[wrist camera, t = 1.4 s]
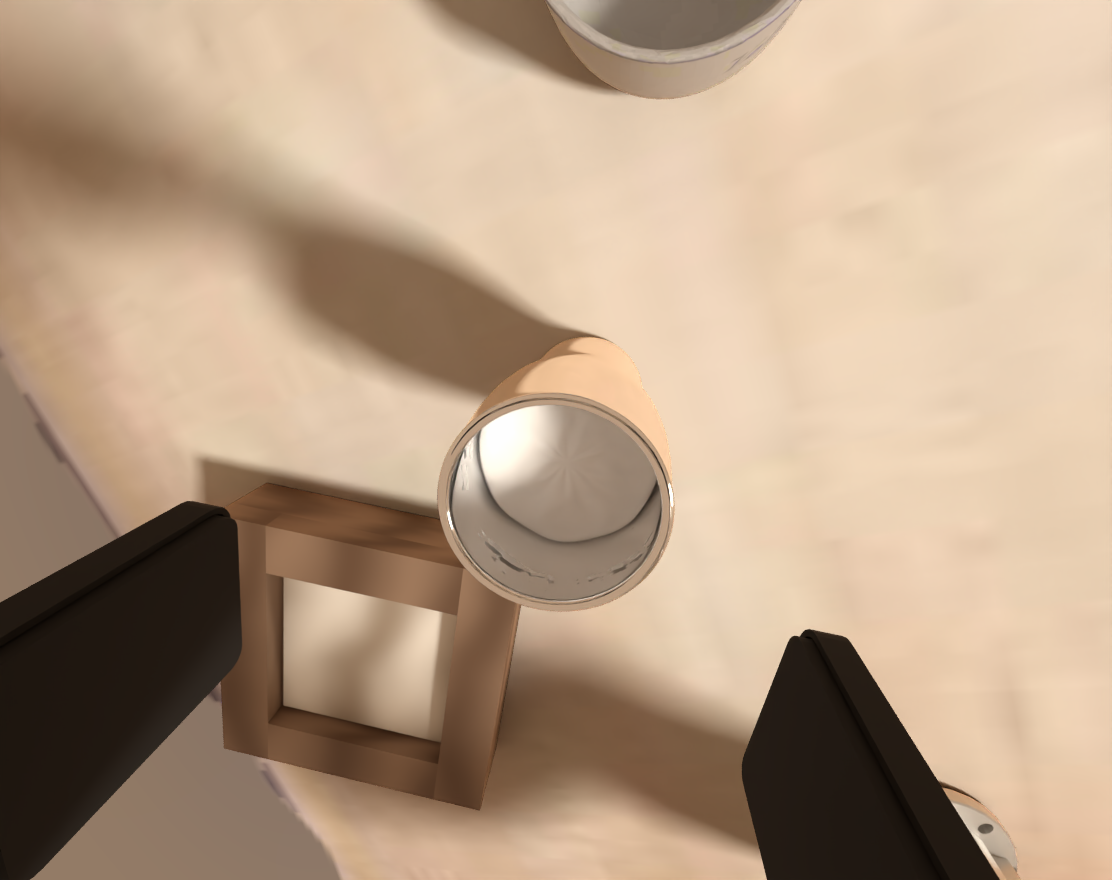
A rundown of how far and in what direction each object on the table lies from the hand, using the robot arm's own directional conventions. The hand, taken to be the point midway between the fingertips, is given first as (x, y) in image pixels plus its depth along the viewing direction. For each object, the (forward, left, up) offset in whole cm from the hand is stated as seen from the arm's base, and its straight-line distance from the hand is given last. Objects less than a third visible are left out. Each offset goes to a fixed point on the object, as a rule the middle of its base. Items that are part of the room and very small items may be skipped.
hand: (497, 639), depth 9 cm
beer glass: (0, 0, -21) cm, 21 cm away
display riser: (+10, +18, -21) cm, 29 cm away
